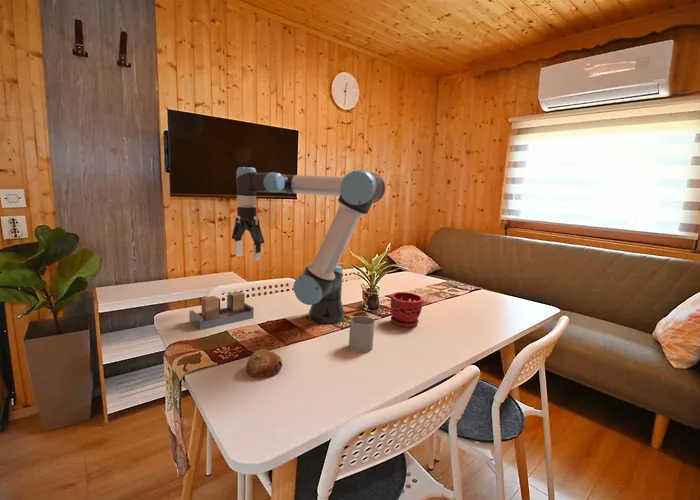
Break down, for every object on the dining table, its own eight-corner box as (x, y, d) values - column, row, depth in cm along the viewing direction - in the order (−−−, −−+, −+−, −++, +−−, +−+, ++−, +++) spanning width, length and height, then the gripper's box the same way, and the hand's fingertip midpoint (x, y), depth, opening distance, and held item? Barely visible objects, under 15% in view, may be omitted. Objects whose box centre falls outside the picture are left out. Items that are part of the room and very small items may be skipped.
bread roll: (255, 373, 113) (244, 351, 111) (286, 360, 113) (275, 338, 111) (250, 390, 103) (237, 366, 102) (283, 376, 103) (271, 352, 102)
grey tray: (253, 317, 149) (253, 294, 148) (200, 330, 134) (199, 304, 132) (241, 311, 156) (241, 288, 155) (189, 322, 141) (189, 297, 139)
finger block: (220, 317, 142) (220, 297, 141) (206, 320, 138) (205, 300, 137) (216, 314, 145) (216, 295, 144) (201, 317, 141) (201, 297, 140)
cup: (370, 354, 122) (372, 326, 120) (346, 350, 124) (348, 322, 122) (374, 344, 130) (375, 317, 129) (351, 341, 132) (353, 314, 130)
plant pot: (382, 322, 152) (384, 295, 150) (400, 316, 162) (403, 290, 160) (409, 332, 143) (411, 303, 142) (426, 324, 153) (429, 297, 151)
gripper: (272, 207, 141) (273, 261, 144) (238, 205, 157) (239, 253, 160) (256, 207, 135) (257, 263, 138) (222, 205, 152) (224, 255, 155)
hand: (247, 258), depth 149 cm, fingers open, 13 cm apart
